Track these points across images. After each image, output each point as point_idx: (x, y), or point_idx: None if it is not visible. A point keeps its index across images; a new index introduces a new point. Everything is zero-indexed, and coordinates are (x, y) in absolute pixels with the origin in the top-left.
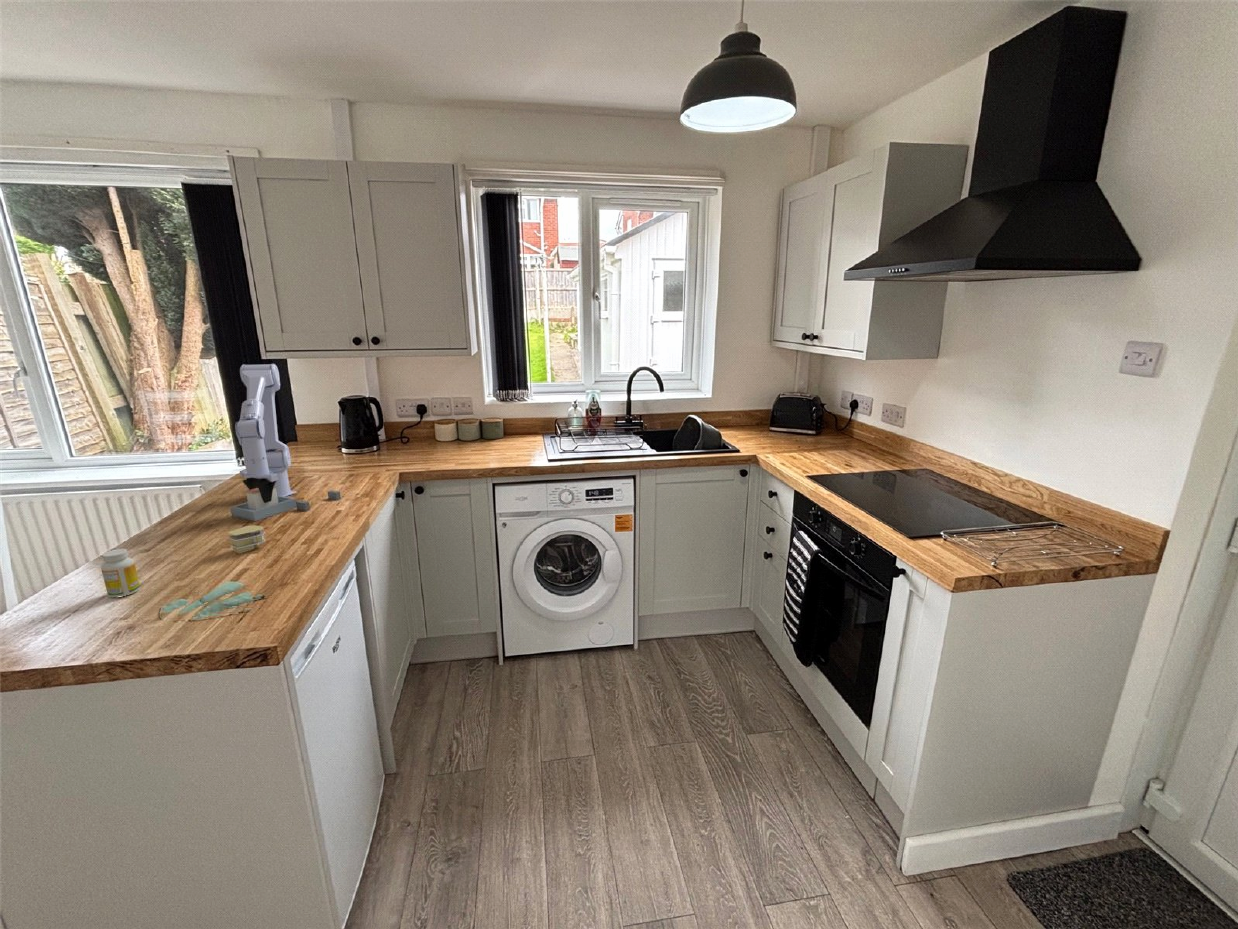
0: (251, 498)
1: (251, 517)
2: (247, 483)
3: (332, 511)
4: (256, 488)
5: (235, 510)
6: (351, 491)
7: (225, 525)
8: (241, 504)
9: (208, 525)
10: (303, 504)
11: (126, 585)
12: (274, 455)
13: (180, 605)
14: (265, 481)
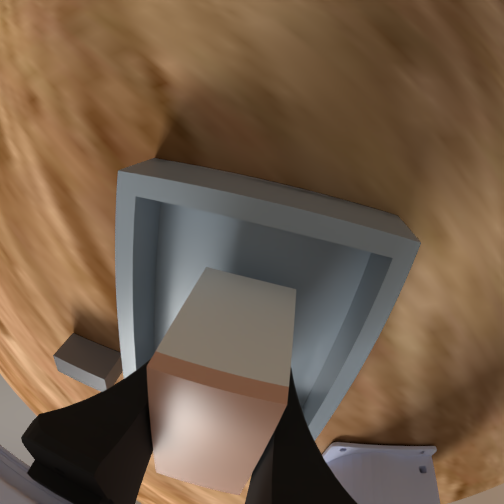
0: (223, 331)
1: (170, 166)
2: (277, 496)
3: (10, 325)
4: (246, 454)
5: (356, 218)
6: None
7: (293, 50)
8: (375, 314)
9: (414, 42)
10: (64, 355)
11: None
12: None
13: None
14: (35, 458)
